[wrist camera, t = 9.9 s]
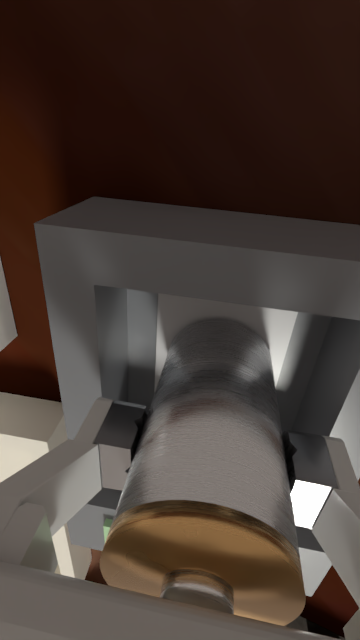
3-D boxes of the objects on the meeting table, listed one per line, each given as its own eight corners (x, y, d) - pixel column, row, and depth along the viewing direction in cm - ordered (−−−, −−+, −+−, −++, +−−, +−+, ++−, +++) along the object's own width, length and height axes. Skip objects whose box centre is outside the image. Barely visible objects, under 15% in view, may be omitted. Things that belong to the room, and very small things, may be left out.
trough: (70, 404, 17) (46, 442, 15) (91, 558, 26) (78, 596, 24) (-90, 376, 18) (-134, 408, 16) (-18, 534, 27) (-41, 568, 25)
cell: (283, 328, 11) (342, 589, 5) (259, 410, 13) (279, 676, 7) (171, 311, 12) (85, 532, 5) (164, 393, 14) (96, 629, 7)
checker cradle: (400, 229, 11) (518, 301, 6) (294, 484, 18) (312, 605, 13) (93, 196, 12) (2, 237, 7) (109, 450, 19) (68, 551, 14)
